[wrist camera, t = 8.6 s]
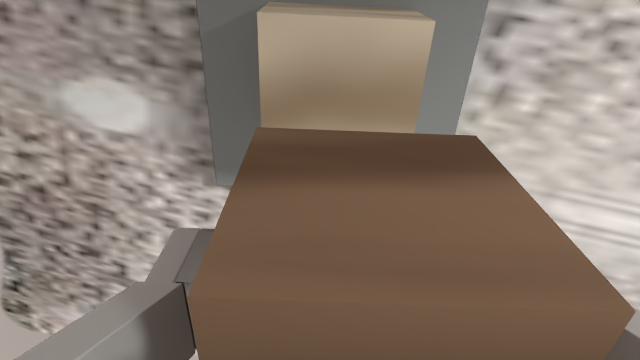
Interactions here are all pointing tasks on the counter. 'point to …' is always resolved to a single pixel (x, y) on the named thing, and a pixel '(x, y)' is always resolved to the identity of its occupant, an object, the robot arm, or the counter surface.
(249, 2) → the build plate
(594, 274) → the walnut cube
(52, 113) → the counter surface
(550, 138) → the counter surface
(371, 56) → the maple base
